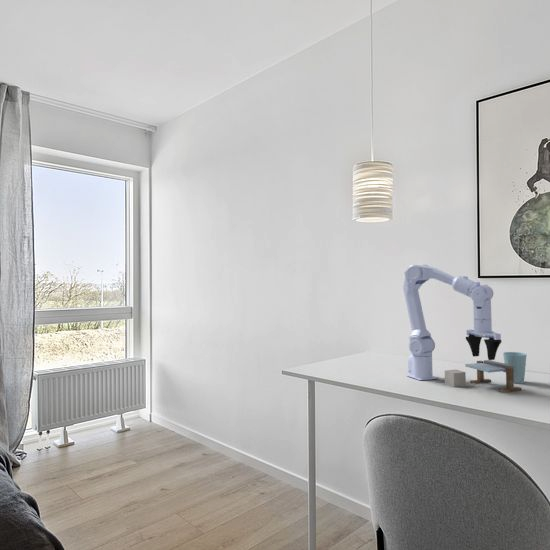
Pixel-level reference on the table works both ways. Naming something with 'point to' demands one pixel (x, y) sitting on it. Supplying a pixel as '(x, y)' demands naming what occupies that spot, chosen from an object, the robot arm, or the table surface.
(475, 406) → the table surface
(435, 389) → the table surface
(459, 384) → the stone
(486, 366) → the trapdoor
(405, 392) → the table surface
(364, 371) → the table surface
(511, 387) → the stand
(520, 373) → the cup
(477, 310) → the robot arm
